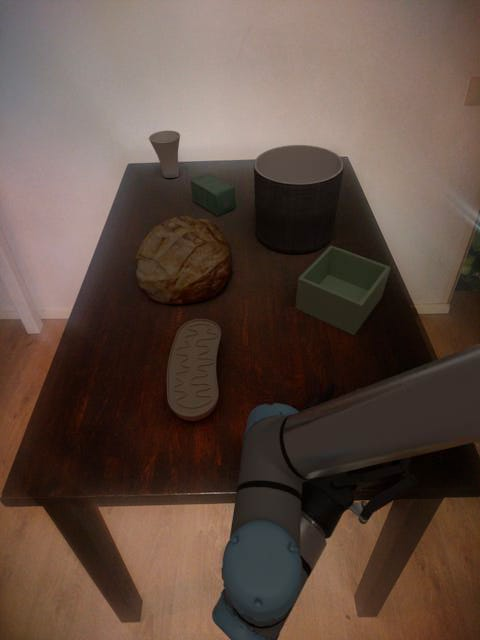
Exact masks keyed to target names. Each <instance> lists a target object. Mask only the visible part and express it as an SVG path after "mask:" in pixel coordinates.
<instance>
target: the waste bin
mask: <svg viewBox="0 0 480 640" xmlns="http://www.w3.org/2000/svg"><path fill="white" fill-rule="evenodd" d="M391 268H392V267H391V266H389V265H387V264H383V263H381V262H378V261H376V260H373V259H370V258H367V257H364V256H361V255H360V254H356V253H353V252H351V251H348V250H345V249H342V248H339V247H337V246H334V245H331V244H330V245H329V246H328V247H327V248H326V249H325V250H324V251H323V252H322V253H321V254H320V255H319V256H318V257H317V258H316V259H315V261H313V263H312V264H310V265H309V267H308V268H307V269H306V270H305V271H303V272H302V274H301V275H300V276H299V277H298V278H297V285H296V298H295V309H296V310H298V311H300V312H303V313H305V314H307V315H309V316H311V317H313V318H316V319H318V320H320V321H321V322H323V323H325V324H329V326H330V325H331V326H333V327H335V328H336V329H339V330H340V331H343V332H345V333H347V334H349V335H352V336H355V335H356V334H357V332H358V331H359V330H360V328H361V327H362V325H363V324H364V322H365V321H366V320H367V318H368V317H369V315H370V314H371V313H372V311H373V310H374V309H375V307H376V306H377V304H378V303H379V302H380V301H381V299H382V298H383V295H384V291H385V288H386V285H387V281H388V278H389V275H390V271H391Z"/></svg>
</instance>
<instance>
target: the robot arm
mask: <svg viewBox="0 0 480 640" xmlns="http://www.w3.org/2000/svg"><path fill="white" fill-rule="evenodd" d="M358 389H359V390H358ZM358 389H356V390H354V391H351V392H349V393H346V394H343V395H340V396H338V397H335V398H333V399H331V398H332V396H333V395H334V393H335V390H336V383H334V382H331V383H330V384H329V385H328V387H327V388H326V390H325V391H324V392H323V394H322V395H321V397H320V396H318V395H314V396H313V397H312V399H311V400H310V402H309V403H308V404H307V405H305V406H304V407H303V408H301V407H299V406H298V405H292V406H291V405H288V404H285V403H280V402H273V403H272V404H269V403H263V404H259V405H257V406H256V407H254V408H253V409H252V410H251V411H250V412H249V414H248V417H247V421H246V426H245V431H244V432H243V435H242V448H241V456H240V463H239V471H238V479H237V485H236V493H235V499H234V500H235V501H234V505H233V514H232V518H231V519H232V520H231V527H230V533H229V540H228V541H227V543H226V545H225V548H224V550H223V555H222V566H221V568H220V569H221V570H220V571H221V579H222V581H223V585H222V587H223V589H222V591H221V592H220V596H219V598H218V599H217V601H216V604H215V605H214V607H213V609H212V612H211V619H212V621H213V623H214V624H215V625H216V627H218V629H219V630H220V631H222V633H224V635H225V636H226V637H228V639H229V640H278V639H279V637H280V636H281V635H280V633H281V631H282V630H283V628H284V626H285V623H286V622H287V620H288V618H289V617H290V615H291V613H292V611H293V609H294V607H295V606H296V603H297V601H298V599H299V597H300V595H301V594H302V591H303V589H304V587H305V585H306V583H307V581H308V579H309V578H310V576H311V574H312V573H313V571H314V569H315V568H316V566H317V563H318V562H319V560H320V559H321V556H322V554H323V552H324V550H325V549H326V546H327V539H330V538H331V537H332V536H333V534H334V531H335V530H336V528H337V526H338V525H339V522H340V520H341V519H342V517H343V515H344V513H345V512H346V511H348V510H349V511H351V513H353V514H354V515H355V516H357V518H358V522H359V523H360V524H362V525H366V524H367V523H368V522H369V520H370V518H371V517H372V516H373V514H374V513H375V512H377V511H379V510H381V509H382V508H384V507H386V506H387V505H388V504H390V503H392V502H394V501H395V500H397V499H399V498H400V497H402V496H403V495H405V494H407V493H408V492H410V491H411V490H413V489H414V487H416V485H417V483H418V482H419V479H418V477H417V476H416V475H415V474H412V473H411V472H410V471H409V465H410V464H411V461H412V459H413V457H416V456H420V455H426V454H429V453H434V452H439V451H443V450H447V449H452V448H457V447H461V446H465V445H469V444H473V443H478V442H480V343H478V344H475V345H472V346H470V347H467V348H464V349H461V350H459V351H456V352H454V353H450V354H447V355H446V356H443V357H440V358H438V359H435V360H432V361H430V362H427V363H425V364H422V365H420V366H416V367H414V368H412V369H409V370H406V371H404V372H401V373H399V374H395V375H393V376H390V377H388V378H385V379H383V380H380V381H377V382H375V383H372V384H369V385H367V386H364V387H361V388H358ZM390 462H392V464H391V465H390V466H386V467H382V468H378V469H374V470H370V471H366V472H363V473H358V472H357V473H353V474H349V472H350V471H355V470H360V469H363V468H367V467H372V466H376V465H380V464H381V465H382V464H386V463H390ZM396 480H398V482H397V483H395V484H393V485H392V486H390V487H388V488H386V489H385V490H383V491H381V492H380V493H378V494H377V495H375V496H373V497H372V498H370V499H369V500H368V501H365V500H361V501H360V502H356V501H355V499H354V492H357V491H360V490H361V489H366V488H369V487H372V486H373V487H374V486H376V485H381V484H385V483H389V482H393V481H396Z"/></svg>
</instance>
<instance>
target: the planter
mask: <svg viewBox="0 0 480 640" xmlns="http://www.w3.org/2000/svg"><path fill="white" fill-rule="evenodd" d="M344 163H345V162H344V160H343V159H342V158H341V156H340V155H339V154H337V153H335V152H334V151H332V150H330V149H327V148H324V147H320V146H315V145H307V144H291V145H290V144H289V145H283V146H277V147H274V148H271V149H268V150H265V151H263V152H262V153H261V154H259V155H258V156H257V157H256V158H255V159H254V162H253V182H254V183H253V185H254V186H253V187H254V188H253V189H254V216H255V217H254V219H255V236H256V238H257V240H258V241H259V242H260V244H262V245H263V246H264V247H265V248H267V249H270V251H271V250H272V251H273V252H278V253H281V254H287V255H305V254H309V253H313V252H316V251H318V250H321V249H323V248H324V247H326V246H327V245H328V244H329V243H330V241H331V240H332V239H333V235H334V229H335V222H336V217H337V210H338V205H339V198H340V192H341V186H342V181H343V179H342V178H343V173H344V168H345V167H344V166H345V164H344Z"/></svg>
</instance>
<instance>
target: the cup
mask: <svg viewBox="0 0 480 640" xmlns="http://www.w3.org/2000/svg"><path fill="white" fill-rule="evenodd" d="M180 139H181V134H180V132H178V131H175V130H161V131H160V130H159V131H157V132H154V133H152V134H151V135H150V136H149V137H148V140H149V142H150V144H151V146H152V148H153V150H154V151H155V154H156V155H157V158H158V161H159V164H160V168H161V173H162V172H163V173H165V174H173V173H176V172H178V171H179V170H180V167H179V147H180Z"/></svg>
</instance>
